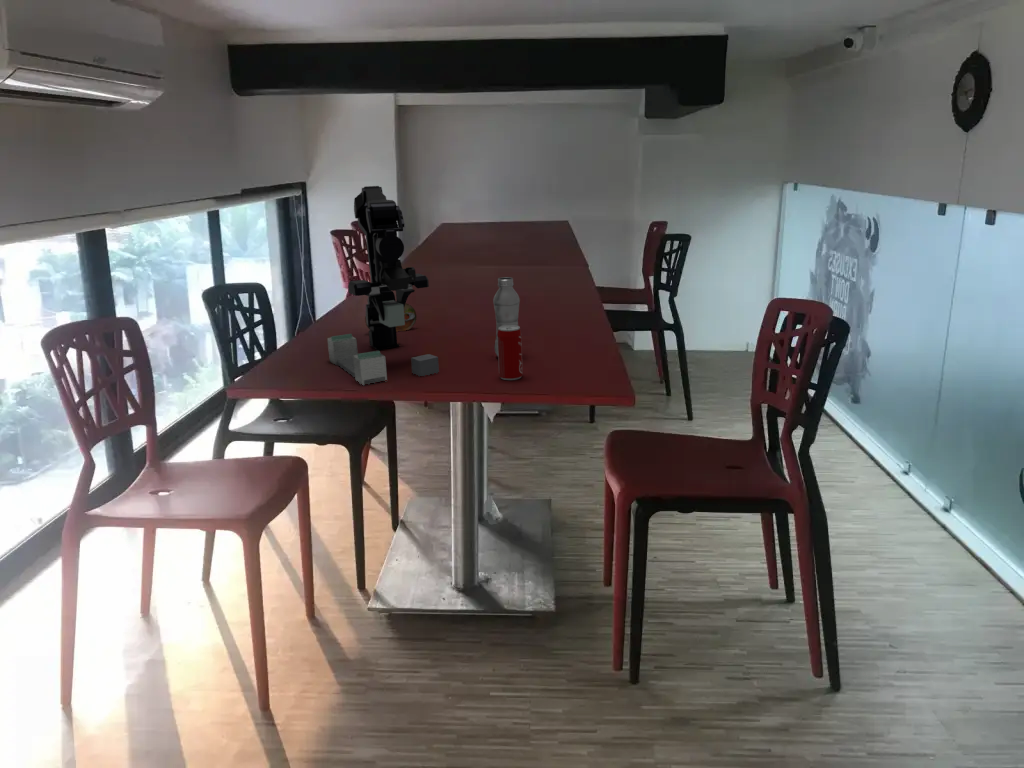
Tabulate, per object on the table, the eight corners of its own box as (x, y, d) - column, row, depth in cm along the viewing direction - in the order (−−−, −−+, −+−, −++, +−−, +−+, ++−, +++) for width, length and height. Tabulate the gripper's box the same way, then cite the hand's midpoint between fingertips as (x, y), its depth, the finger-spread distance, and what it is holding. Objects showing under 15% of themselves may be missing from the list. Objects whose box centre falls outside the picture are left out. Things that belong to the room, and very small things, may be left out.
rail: (352, 357, 202) (349, 331, 200) (387, 381, 180) (384, 352, 178) (329, 361, 199) (326, 335, 197) (362, 385, 177) (359, 356, 175)
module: (394, 320, 195) (393, 299, 193) (404, 324, 189) (403, 303, 188) (379, 322, 193) (377, 301, 192) (389, 327, 187) (387, 305, 186)
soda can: (523, 380, 177) (522, 328, 174) (499, 381, 177) (497, 329, 173) (521, 373, 183) (520, 323, 179) (498, 374, 182) (496, 324, 179)
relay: (429, 369, 189) (428, 353, 187) (439, 373, 186) (438, 357, 184) (412, 374, 186) (411, 357, 184) (421, 377, 183) (420, 361, 181)
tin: (367, 336, 225) (365, 307, 223) (365, 334, 228) (362, 305, 225) (417, 329, 231) (415, 301, 228) (414, 327, 234) (412, 300, 231)
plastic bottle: (491, 356, 198) (487, 277, 193) (515, 352, 201) (512, 275, 195) (500, 361, 193) (497, 281, 187) (525, 358, 195) (523, 278, 189)
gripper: (359, 263, 175) (365, 330, 180) (435, 255, 184) (439, 319, 188) (344, 257, 185) (350, 322, 189) (417, 250, 193) (422, 312, 198)
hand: (391, 319), depth 191 cm, fingers closed on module, 4 cm apart
